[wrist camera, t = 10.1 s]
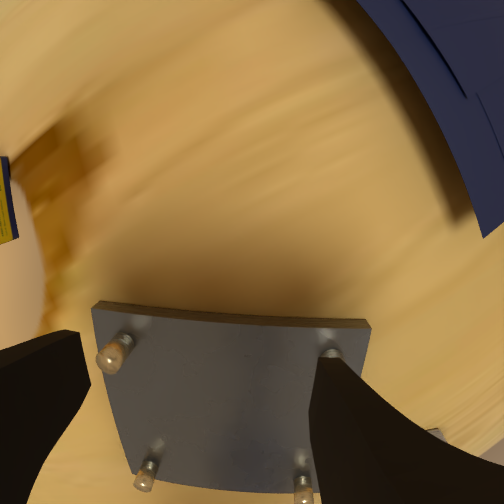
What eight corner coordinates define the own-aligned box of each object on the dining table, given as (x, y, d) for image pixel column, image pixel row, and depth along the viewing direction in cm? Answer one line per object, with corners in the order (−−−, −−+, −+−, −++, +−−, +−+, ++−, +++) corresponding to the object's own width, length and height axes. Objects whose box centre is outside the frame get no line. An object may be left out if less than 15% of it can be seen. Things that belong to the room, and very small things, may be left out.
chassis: (321, 482, 21) (325, 514, 18) (136, 464, 22) (123, 493, 18) (365, 319, 17) (385, 350, 14) (99, 300, 18) (70, 324, 14)
